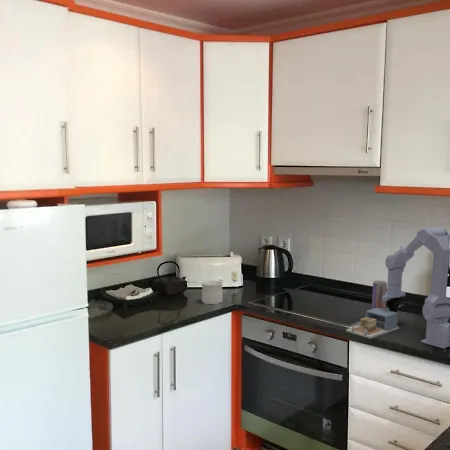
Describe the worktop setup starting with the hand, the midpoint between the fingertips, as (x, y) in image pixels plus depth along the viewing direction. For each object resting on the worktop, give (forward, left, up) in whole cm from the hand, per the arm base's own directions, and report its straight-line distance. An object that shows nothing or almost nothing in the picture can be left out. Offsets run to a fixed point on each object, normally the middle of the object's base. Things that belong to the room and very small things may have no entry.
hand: (392, 315), depth 230 cm
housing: (0, +8, -3) cm, 9 cm away
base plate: (0, +14, -4) cm, 14 cm away
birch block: (0, +17, -3) cm, 18 cm away
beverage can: (+12, -8, -4) cm, 15 cm away
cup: (+74, +38, -4) cm, 83 cm away
